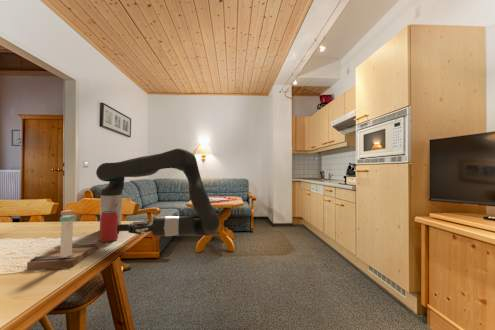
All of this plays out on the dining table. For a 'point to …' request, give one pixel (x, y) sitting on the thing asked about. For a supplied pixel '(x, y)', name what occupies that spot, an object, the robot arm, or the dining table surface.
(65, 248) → the teal slider
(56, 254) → the wooden slider base
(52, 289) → the dining table surface
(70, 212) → the white tall bar
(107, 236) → the beer can
